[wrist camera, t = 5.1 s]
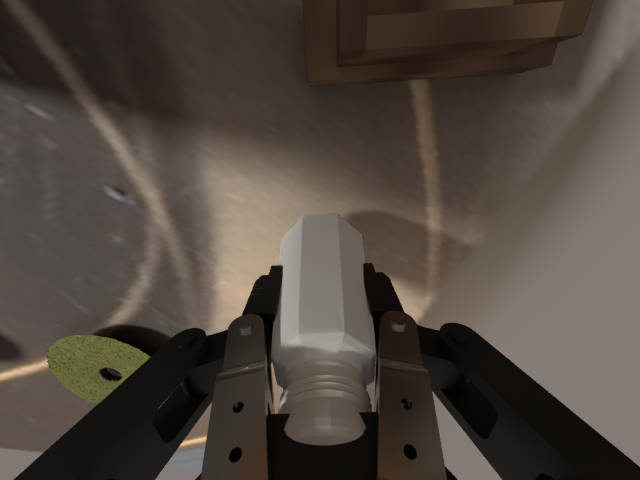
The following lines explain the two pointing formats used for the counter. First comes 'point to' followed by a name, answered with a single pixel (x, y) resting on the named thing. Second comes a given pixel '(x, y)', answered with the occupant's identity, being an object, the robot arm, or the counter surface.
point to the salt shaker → (323, 332)
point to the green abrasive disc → (93, 364)
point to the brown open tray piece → (433, 37)
